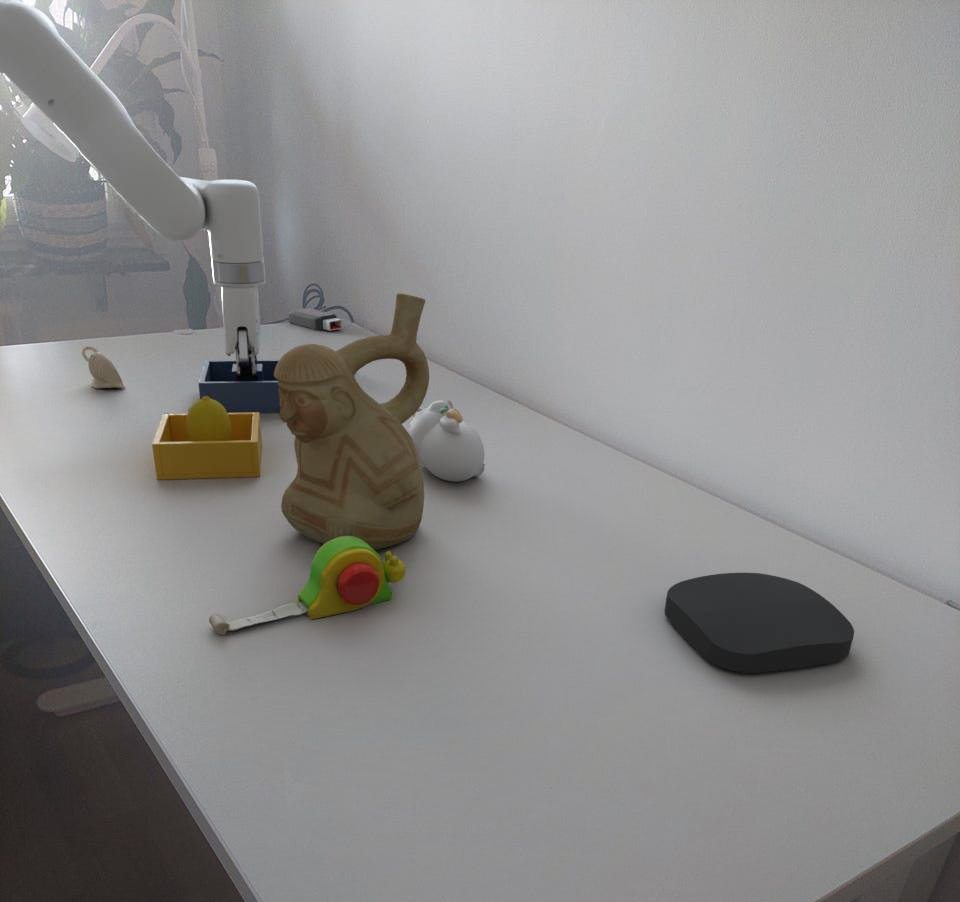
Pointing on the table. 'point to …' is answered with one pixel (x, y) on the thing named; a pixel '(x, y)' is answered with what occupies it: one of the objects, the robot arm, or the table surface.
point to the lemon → (208, 421)
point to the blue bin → (240, 388)
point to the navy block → (258, 371)
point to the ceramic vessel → (354, 437)
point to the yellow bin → (208, 450)
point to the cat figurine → (446, 442)
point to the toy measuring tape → (333, 584)
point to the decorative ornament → (102, 370)
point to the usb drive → (315, 319)
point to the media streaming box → (758, 622)
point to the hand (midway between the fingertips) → (249, 394)
